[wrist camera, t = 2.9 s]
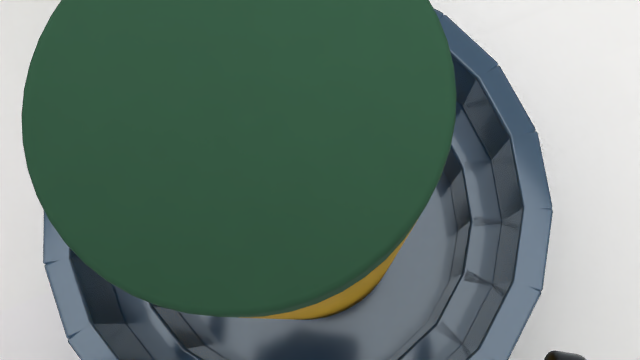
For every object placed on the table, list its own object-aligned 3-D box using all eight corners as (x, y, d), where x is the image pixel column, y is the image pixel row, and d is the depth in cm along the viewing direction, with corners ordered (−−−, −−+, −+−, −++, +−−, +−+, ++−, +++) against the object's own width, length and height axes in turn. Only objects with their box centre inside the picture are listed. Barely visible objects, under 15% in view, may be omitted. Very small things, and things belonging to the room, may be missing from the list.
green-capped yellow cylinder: (409, 309, 18) (493, 290, 7) (219, 328, 18) (12, 340, 7) (385, 127, 19) (423, -124, 8) (209, 147, 19) (23, -73, 8)
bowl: (532, 411, 17) (600, 445, 13) (124, 450, 18) (38, 499, 13) (466, 35, 20) (501, -55, 16) (118, 76, 21) (46, 1, 16)
